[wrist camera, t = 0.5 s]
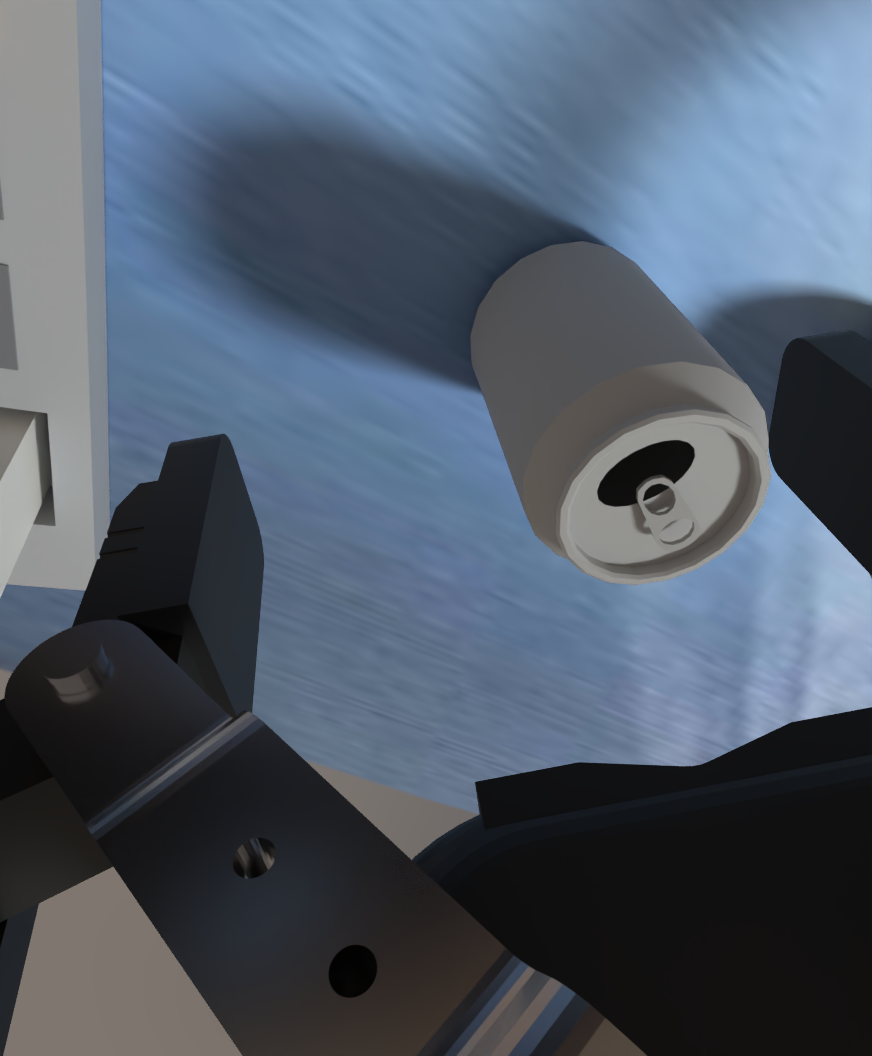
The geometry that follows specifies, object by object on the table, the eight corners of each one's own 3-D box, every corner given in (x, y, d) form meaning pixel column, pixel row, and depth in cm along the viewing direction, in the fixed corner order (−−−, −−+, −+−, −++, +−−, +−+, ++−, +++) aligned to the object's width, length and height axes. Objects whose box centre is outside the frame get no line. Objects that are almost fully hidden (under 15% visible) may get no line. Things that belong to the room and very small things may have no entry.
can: (605, 191, 27) (758, 338, 18) (674, 348, 32) (823, 529, 22) (430, 305, 29) (487, 490, 20) (518, 438, 33) (597, 639, 24)
